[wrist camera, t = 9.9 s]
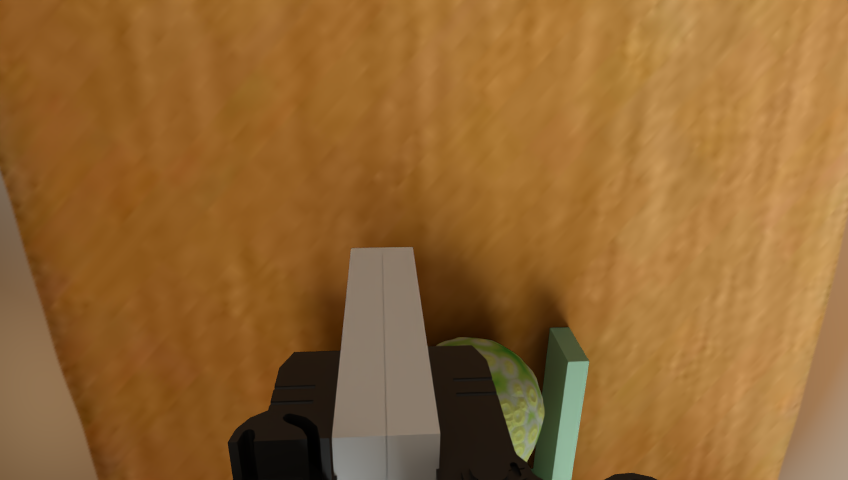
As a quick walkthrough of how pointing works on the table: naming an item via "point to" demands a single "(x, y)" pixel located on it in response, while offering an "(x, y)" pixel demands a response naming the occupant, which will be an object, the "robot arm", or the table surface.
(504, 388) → the decorative ball
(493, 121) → the table surface
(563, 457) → the cup
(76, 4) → the table surface
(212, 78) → the table surface
